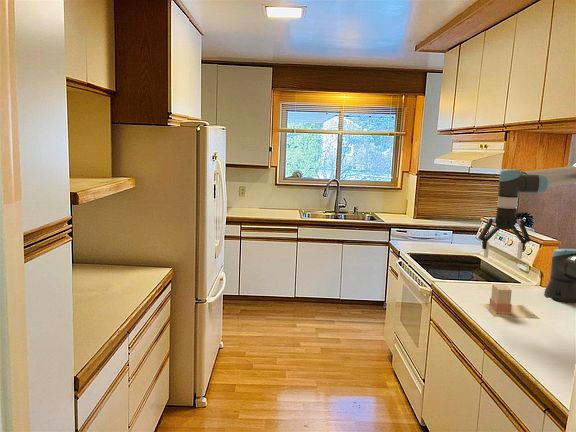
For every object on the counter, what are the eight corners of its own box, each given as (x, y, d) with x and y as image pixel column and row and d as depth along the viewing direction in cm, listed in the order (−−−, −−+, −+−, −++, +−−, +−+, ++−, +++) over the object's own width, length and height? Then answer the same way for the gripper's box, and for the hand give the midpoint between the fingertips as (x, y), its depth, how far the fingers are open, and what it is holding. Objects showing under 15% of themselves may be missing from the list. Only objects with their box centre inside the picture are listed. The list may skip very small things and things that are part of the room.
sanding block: (503, 307, 204) (505, 284, 203) (511, 314, 196) (513, 290, 195) (488, 306, 205) (490, 284, 203) (495, 313, 197) (497, 289, 195)
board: (523, 306, 208) (523, 305, 207) (539, 319, 192) (540, 318, 192) (481, 304, 209) (481, 303, 209) (493, 317, 193) (494, 316, 193)
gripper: (534, 206, 199) (529, 256, 202) (473, 205, 201) (469, 254, 204) (542, 209, 191) (537, 260, 195) (478, 207, 193) (474, 258, 196)
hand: (502, 257), depth 199 cm, fingers open, 13 cm apart
